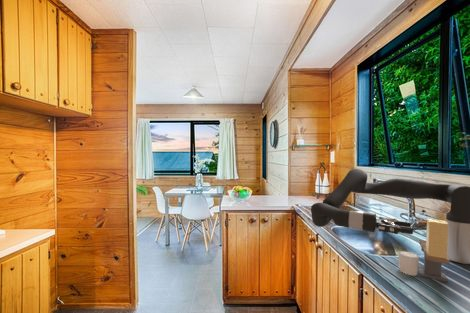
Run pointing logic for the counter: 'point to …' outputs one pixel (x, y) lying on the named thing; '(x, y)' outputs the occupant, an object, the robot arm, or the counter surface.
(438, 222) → the block
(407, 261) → the beige short cylinder
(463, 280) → the counter surface
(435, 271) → the beam stand
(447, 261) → the beam
